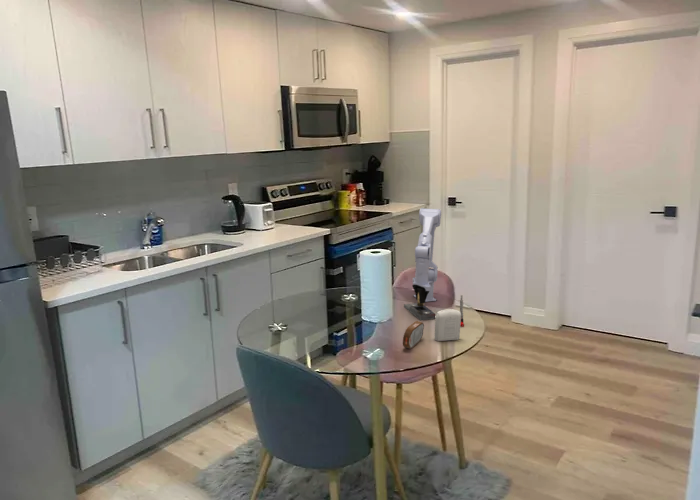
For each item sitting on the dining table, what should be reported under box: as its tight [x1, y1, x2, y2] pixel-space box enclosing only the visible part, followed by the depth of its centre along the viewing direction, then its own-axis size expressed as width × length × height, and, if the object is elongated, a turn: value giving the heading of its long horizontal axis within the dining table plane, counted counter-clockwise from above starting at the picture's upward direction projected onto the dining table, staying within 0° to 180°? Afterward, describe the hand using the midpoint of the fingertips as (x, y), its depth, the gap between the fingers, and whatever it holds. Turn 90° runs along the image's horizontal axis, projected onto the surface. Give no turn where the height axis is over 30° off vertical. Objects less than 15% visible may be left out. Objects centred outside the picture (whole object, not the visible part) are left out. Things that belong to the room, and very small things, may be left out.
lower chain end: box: [403, 302, 423, 317], centre depth 243 cm, size 13×7×2 cm, turn 18°
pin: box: [416, 293, 425, 306], centre depth 238 cm, size 3×3×6 cm
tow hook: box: [459, 294, 465, 328], centre depth 227 cm, size 8×13×9 cm
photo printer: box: [433, 308, 461, 342], centre depth 211 cm, size 10×4×12 cm, turn 103°
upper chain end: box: [410, 305, 436, 321], centre depth 237 cm, size 11×7×3 cm, turn 18°
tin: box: [402, 320, 425, 350], centre depth 206 cm, size 15×3×8 cm, turn 150°
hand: (420, 301), depth 239 cm, fingers closed on pin, 3 cm apart
